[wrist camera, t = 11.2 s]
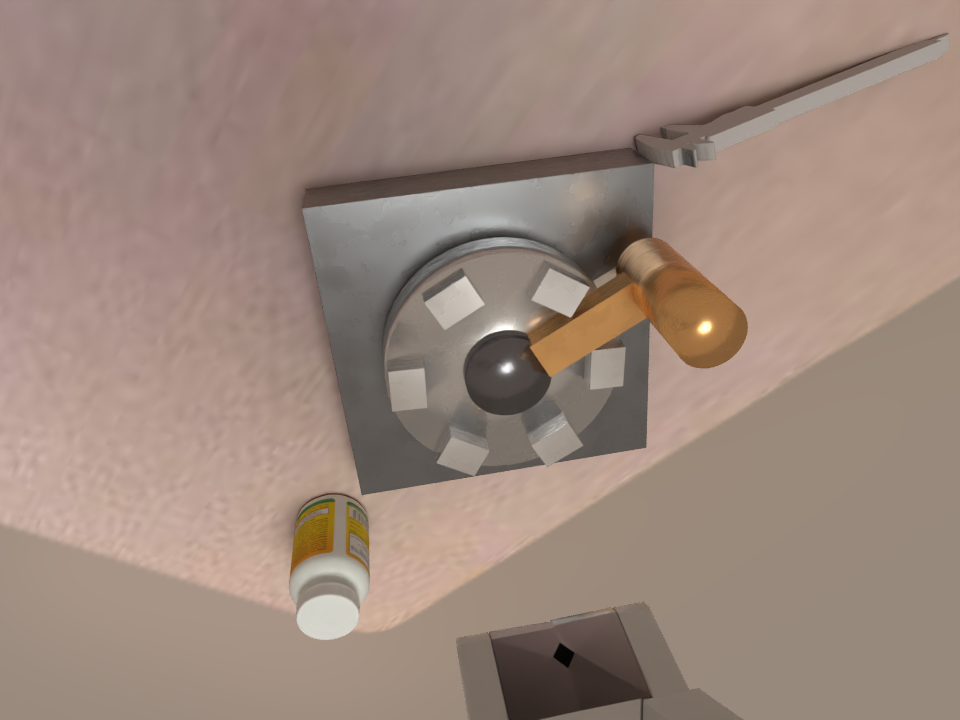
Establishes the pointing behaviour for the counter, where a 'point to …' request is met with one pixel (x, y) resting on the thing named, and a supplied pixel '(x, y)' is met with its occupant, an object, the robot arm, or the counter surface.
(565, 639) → the robot arm
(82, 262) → the counter surface
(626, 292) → the rotary crank dial
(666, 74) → the counter surface
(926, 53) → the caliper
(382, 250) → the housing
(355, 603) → the supplement bottle
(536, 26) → the counter surface
